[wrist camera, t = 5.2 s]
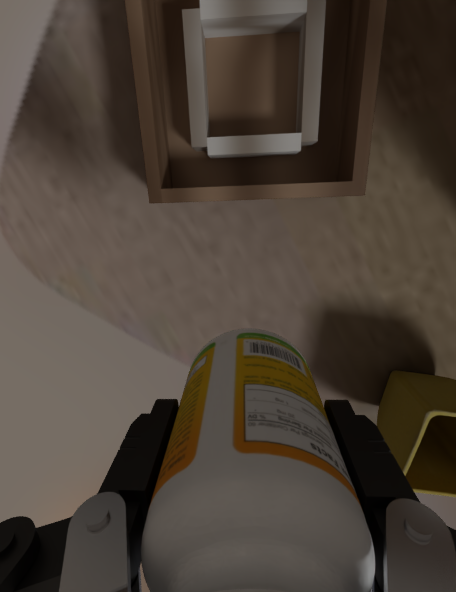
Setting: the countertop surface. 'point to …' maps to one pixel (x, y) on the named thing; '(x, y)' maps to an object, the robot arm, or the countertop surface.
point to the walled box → (255, 96)
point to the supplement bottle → (254, 481)
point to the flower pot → (421, 429)
